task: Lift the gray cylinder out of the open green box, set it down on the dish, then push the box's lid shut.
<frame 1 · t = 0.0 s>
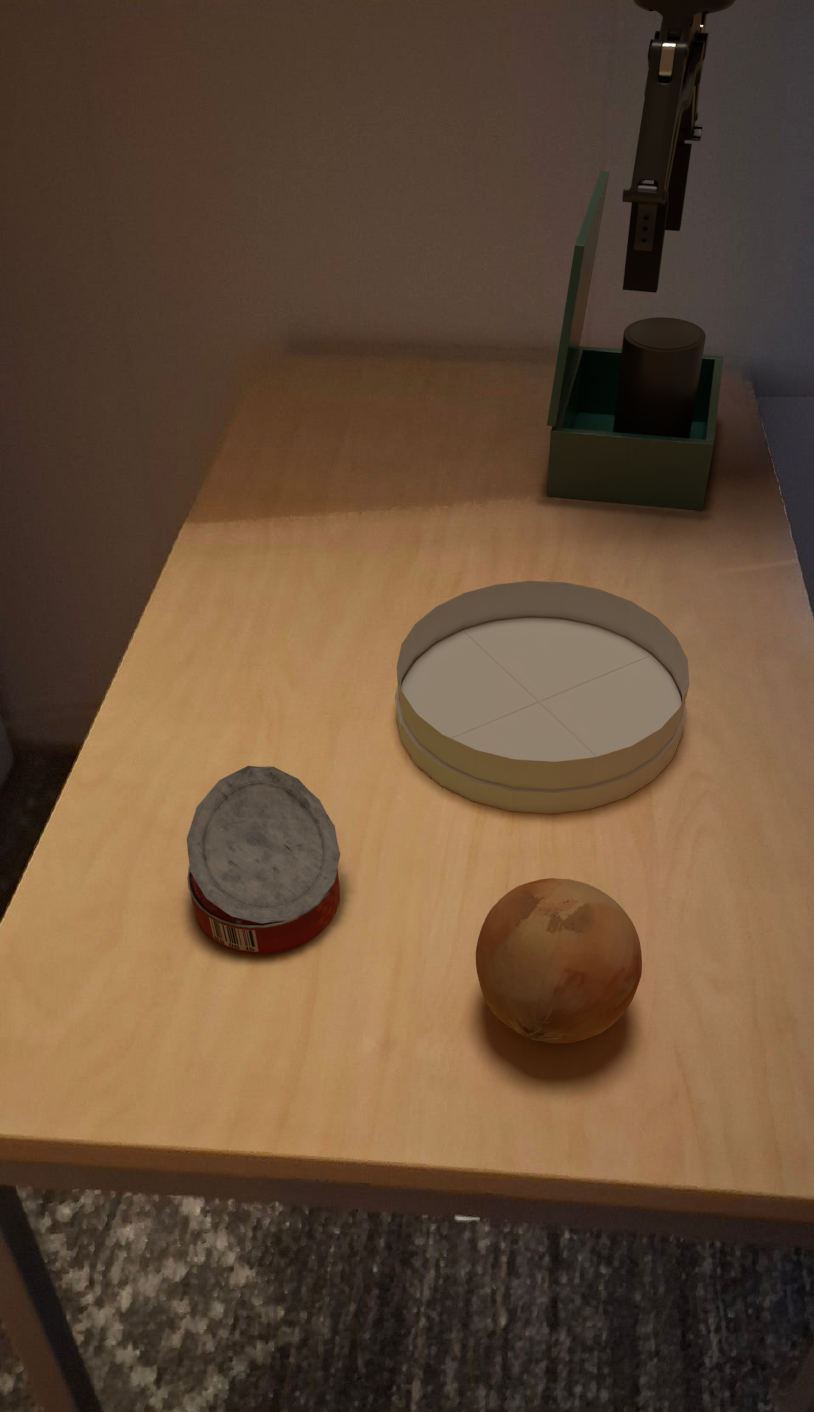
hand: (652, 258, 98), 21 cm above the table, tool pointing down, fingers open, 13 cm apart
gray cylinder: (647, 457, 115), point 1 cm above the table, touching green box
lid: (578, 298, 106), point 15 cm above the table, hinge at 85.0°
onion: (552, 1009, 72), on the table
green box: (631, 463, 116), on the table
canned food: (268, 901, 79), on the table
dish: (537, 717, 91), on the table
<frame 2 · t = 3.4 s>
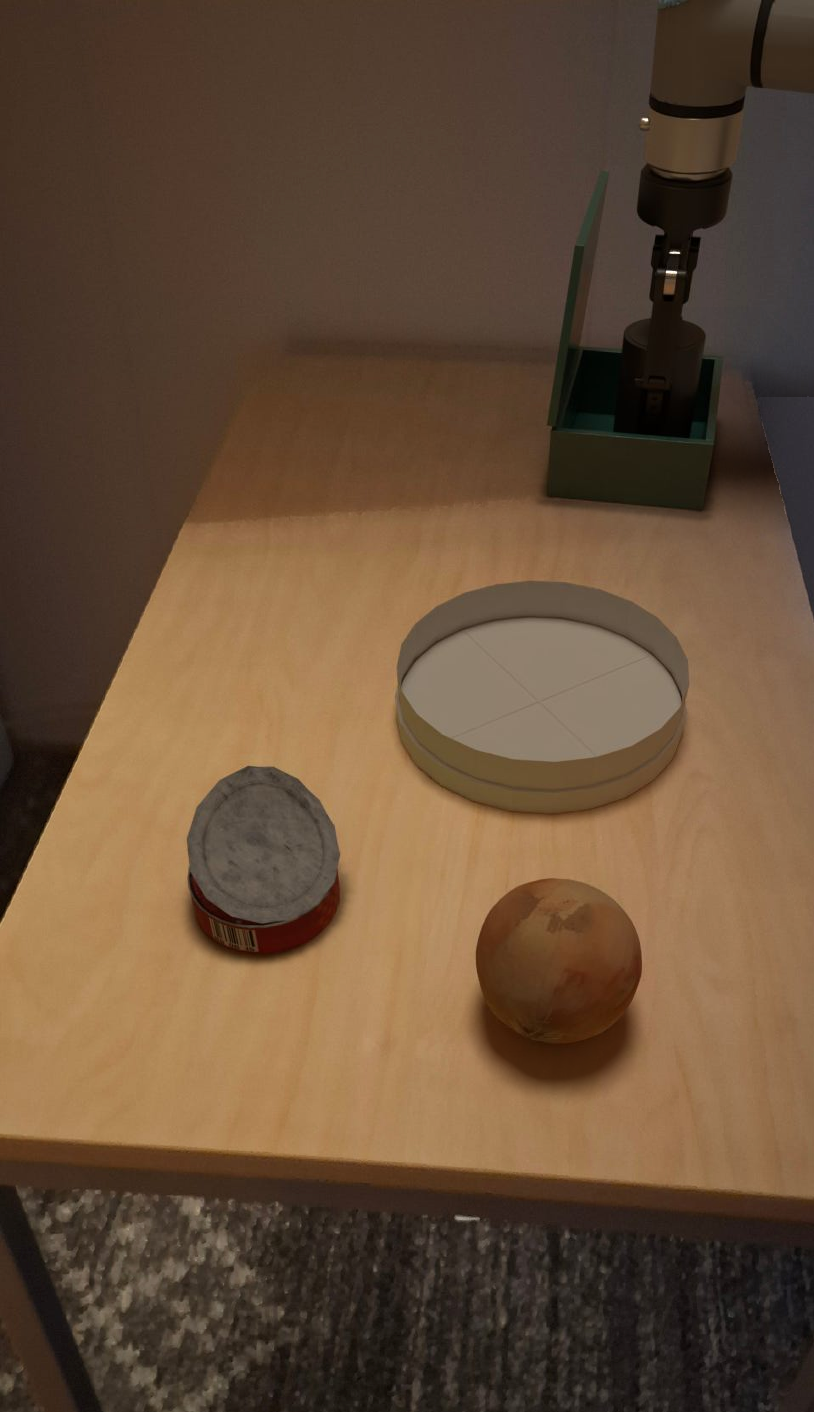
hand: (651, 430, 113), 4 cm above the table, tool pointing down, fingers closed on gray cylinder, 7 cm apart
gray cylinder: (648, 457, 115), point 1 cm above the table, touching gripper, green box
everything else where it was.
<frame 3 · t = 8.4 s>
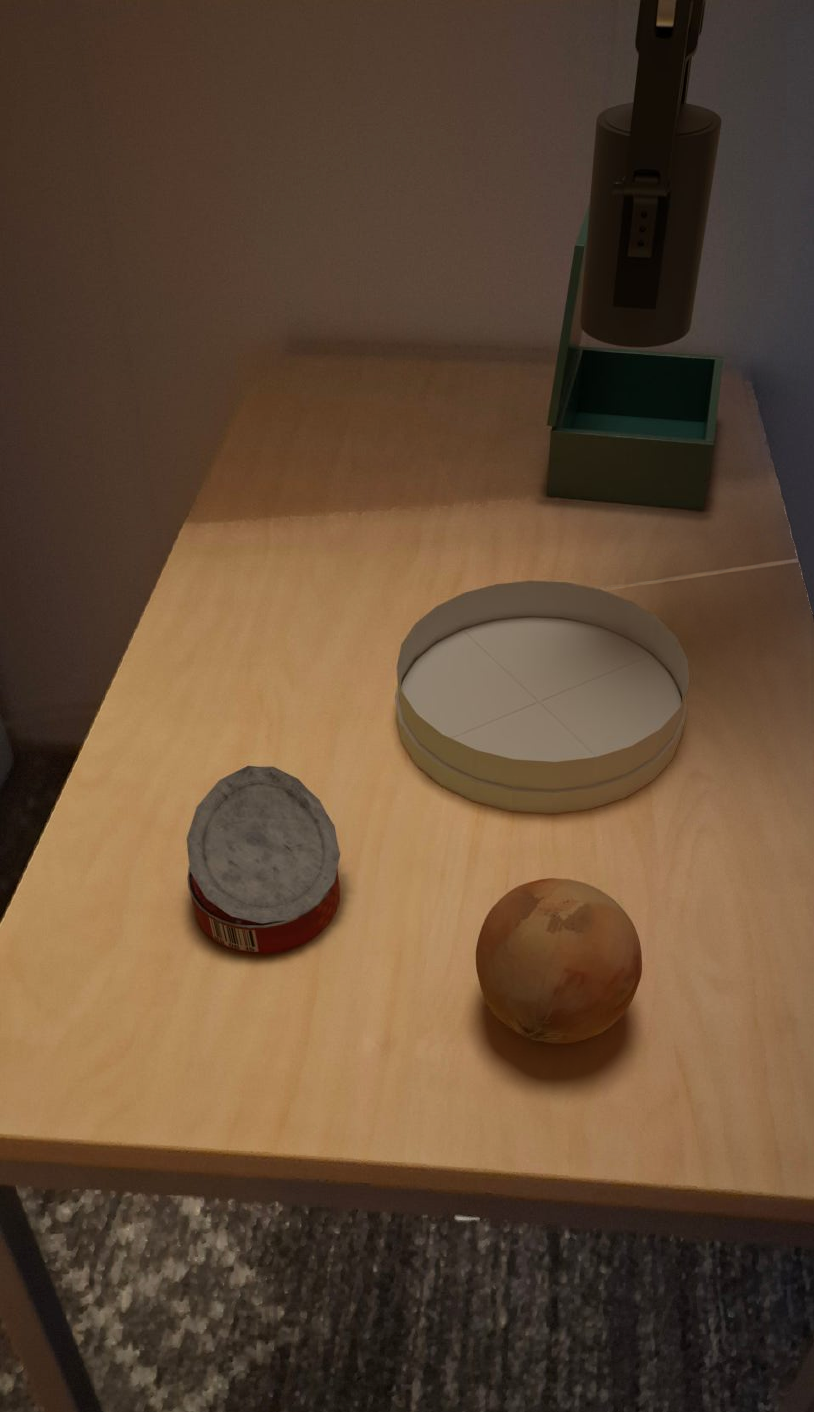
hand: (640, 280, 77), 28 cm above the table, tool pointing down, fingers closed on gray cylinder, 7 cm apart
gray cylinder: (634, 324, 79), point 25 cm above the table, touching gripper
everything else where it was.
when the fingers open (7 cm above the table, at t = 13.5 s): gray cylinder stays where it is, resting on dish.
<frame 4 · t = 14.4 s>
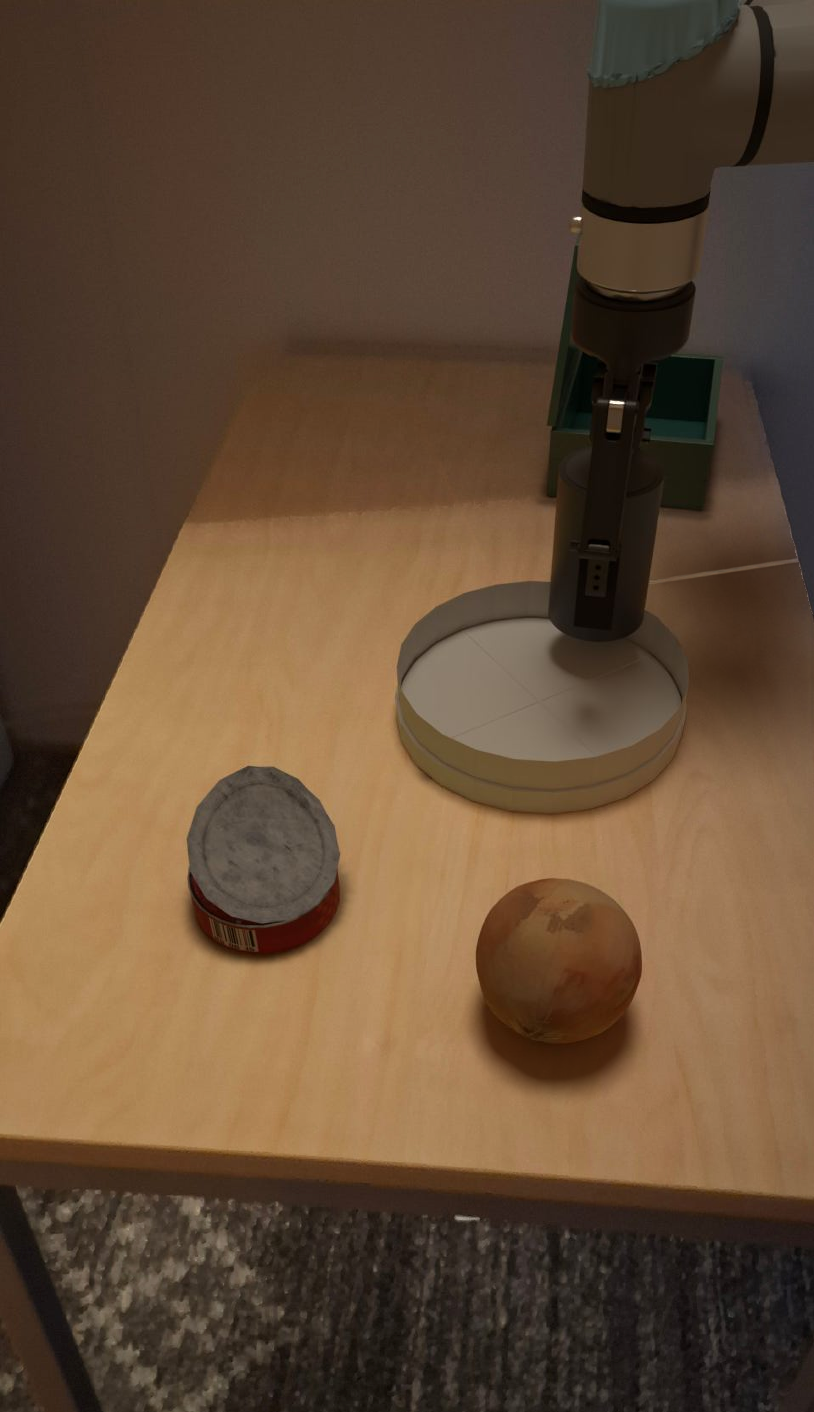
hand: (603, 573, 88), 9 cm above the table, tool pointing down, fingers open, 13 cm apart
gray cylinder: (595, 613, 91), point 5 cm above the table, touching dish
dish: (537, 717, 91), on the table, touching gray cylinder
everything else where it was.
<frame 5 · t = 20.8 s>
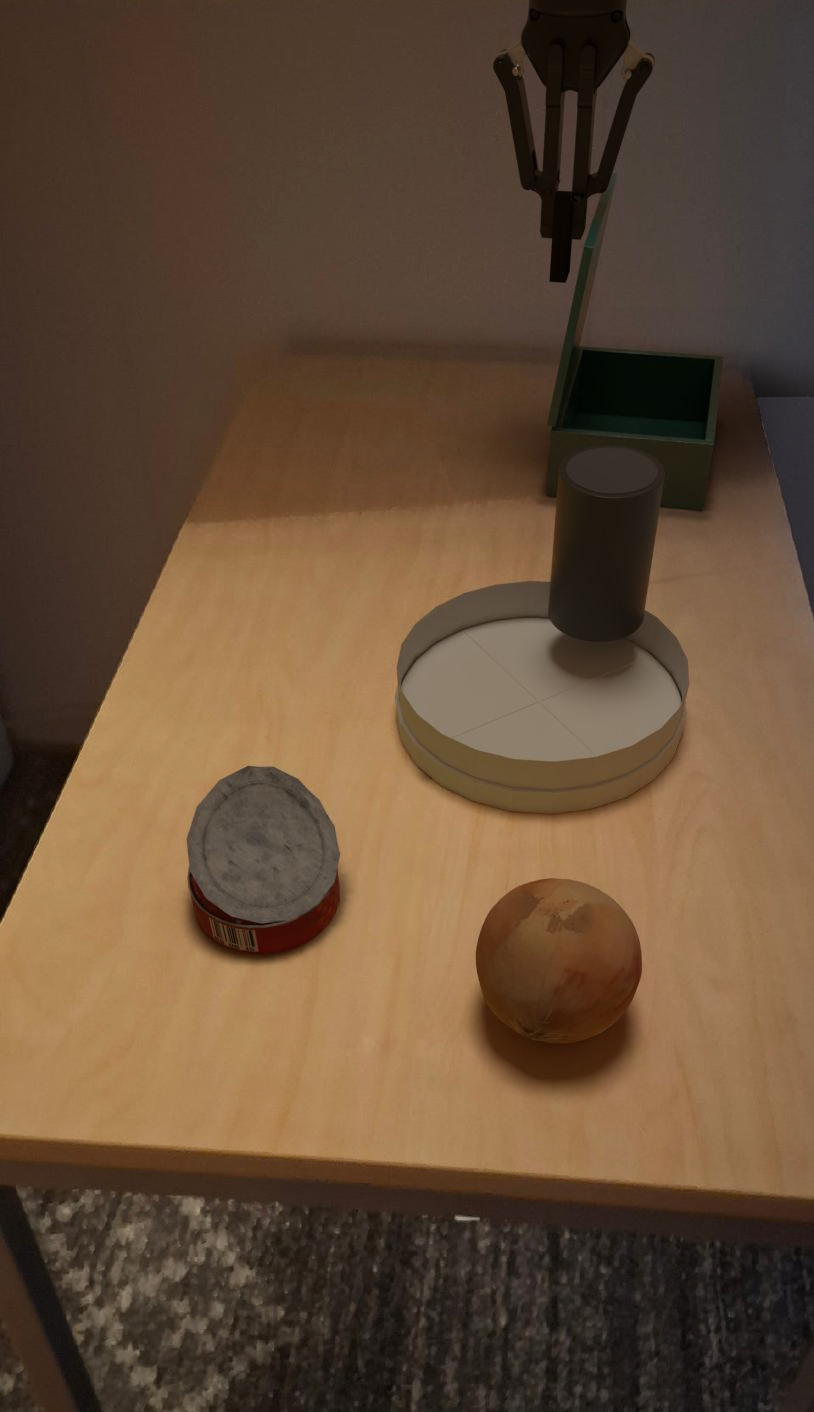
hand: (559, 276, 105), 17 cm above the table, tool pointing down, fingers closed
lid: (582, 299, 106), point 15 cm above the table, hinge at 82.2°, touching gripper
everything else where it was.
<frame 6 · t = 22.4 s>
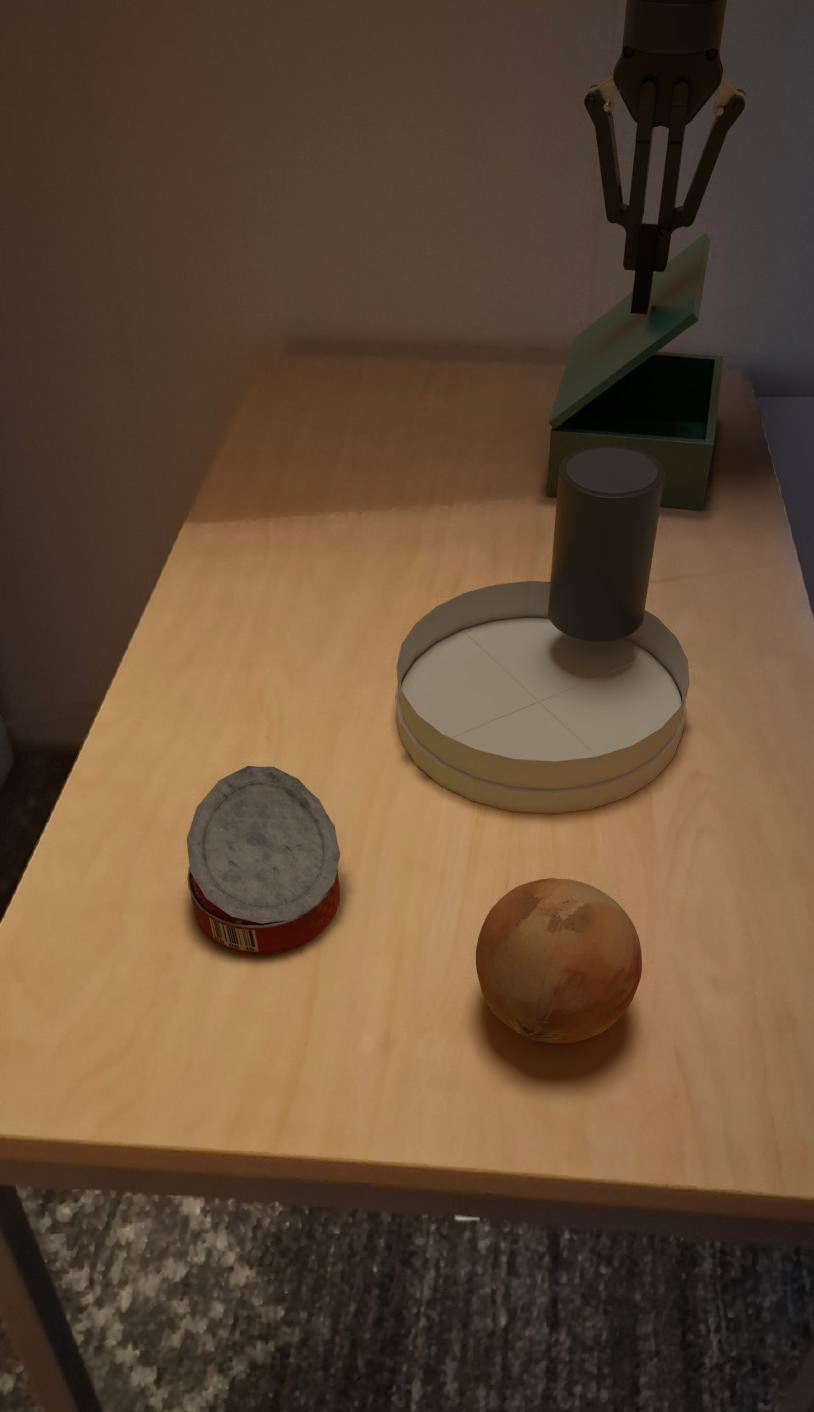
hand: (640, 307, 105), 15 cm above the table, tool pointing down, fingers closed
lid: (630, 330, 107), point 13 cm above the table, hinge at 42.5°, touching gripper
everything else where it was.
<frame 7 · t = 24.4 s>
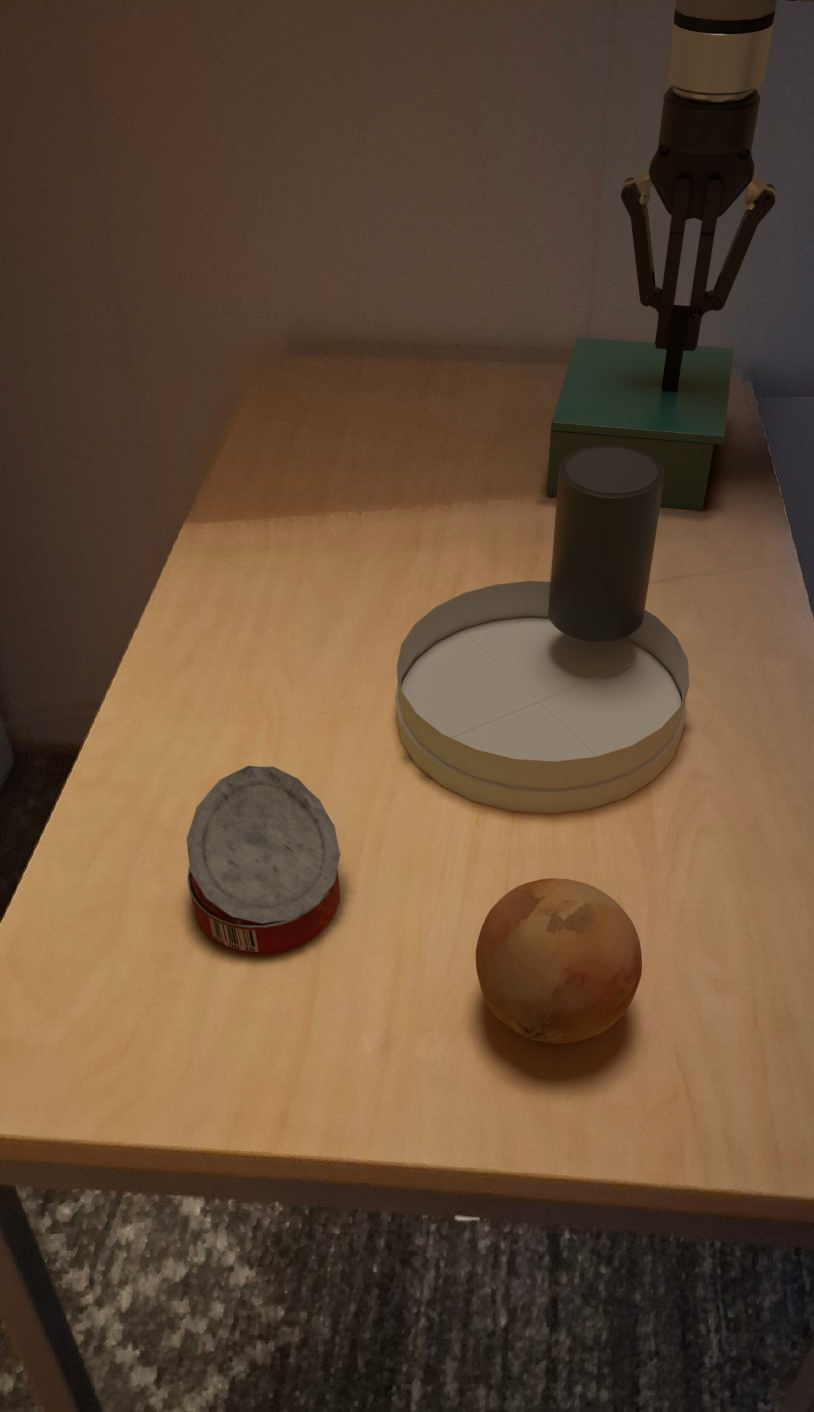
hand: (670, 382, 109), 8 cm above the table, tool pointing down, fingers closed
lid: (645, 387, 110), point 8 cm above the table, hinge at -0.1°, touching gripper
everything else where it was.
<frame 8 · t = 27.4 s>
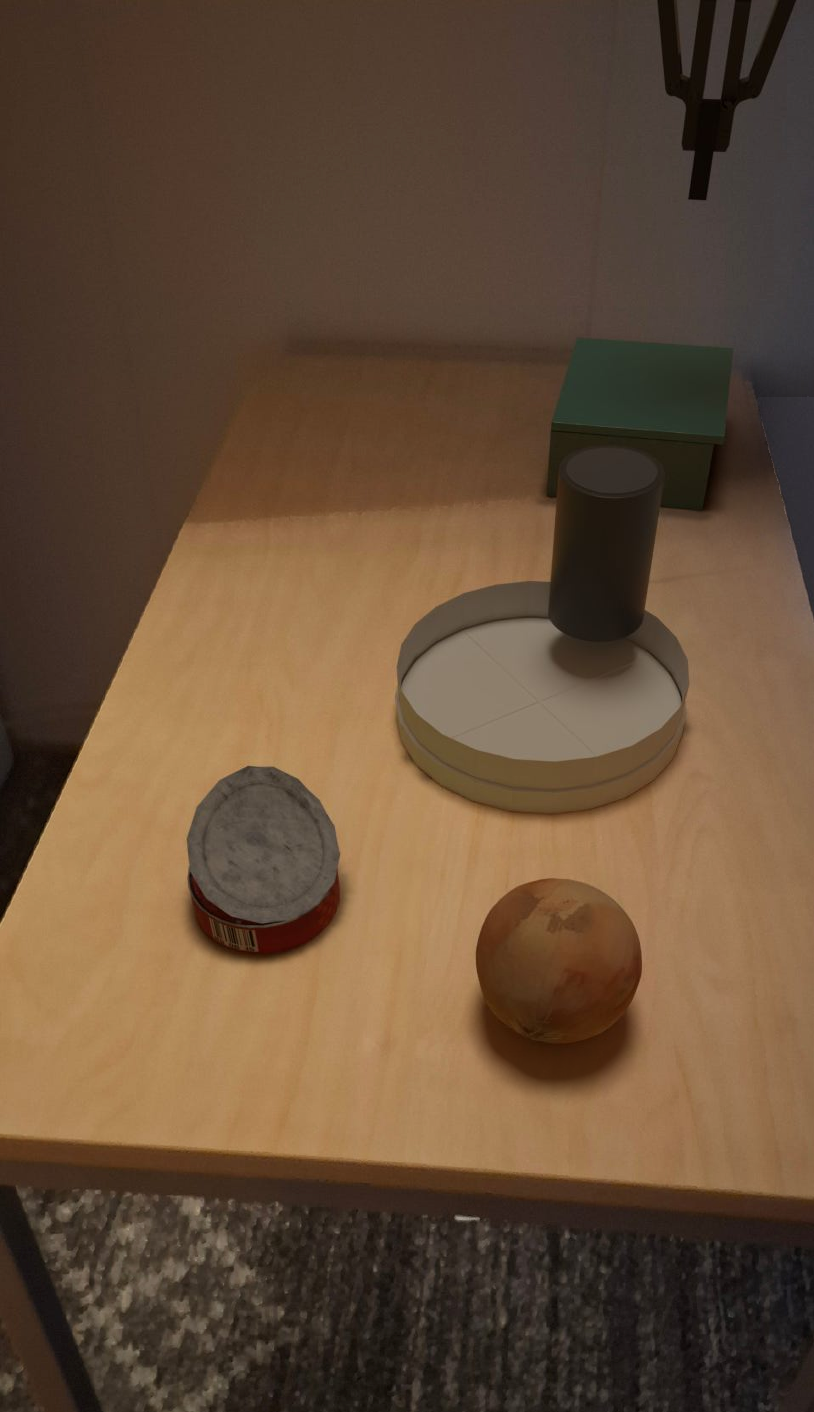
hand: (698, 194, 97), 24 cm above the table, tool pointing down, fingers closed
lid: (645, 387, 110), point 8 cm above the table, hinge at -0.1°
everything else where it was.
at the end: gray cylinder inside the target area in the dish (5.2 cm from its centre), point 5.2 cm above the dish's base; gray cylinder tilted 0°; lid at +0° (first picture: +85°) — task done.
